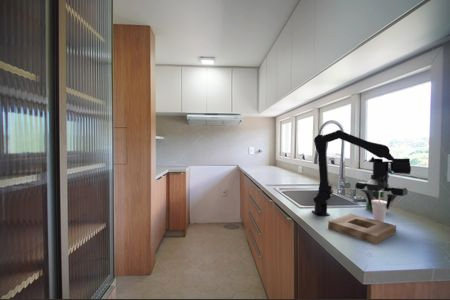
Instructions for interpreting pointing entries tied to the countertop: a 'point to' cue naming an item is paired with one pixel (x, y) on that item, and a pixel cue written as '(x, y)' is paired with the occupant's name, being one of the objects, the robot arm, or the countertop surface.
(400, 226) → the countertop surface
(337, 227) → the hole board
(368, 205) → the canned tomato
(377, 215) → the smoothie
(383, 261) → the countertop surface
